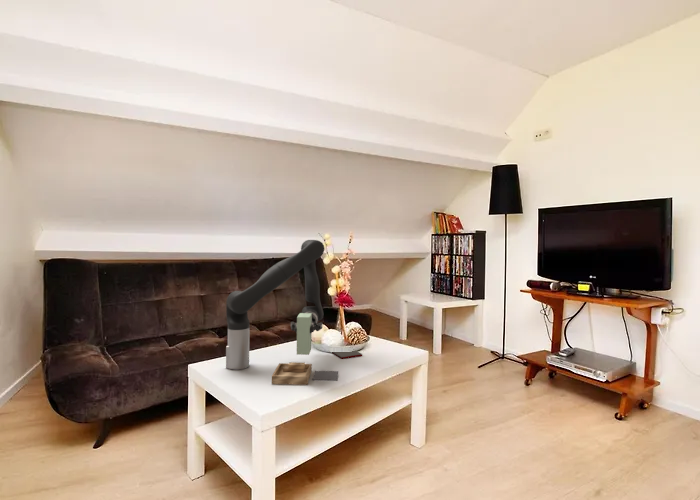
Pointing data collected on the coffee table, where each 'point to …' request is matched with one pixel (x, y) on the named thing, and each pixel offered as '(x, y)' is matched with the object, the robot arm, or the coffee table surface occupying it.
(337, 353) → the smartphone
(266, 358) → the coffee table surface
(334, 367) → the coffee table surface
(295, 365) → the offcut upper
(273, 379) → the wooden tray
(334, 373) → the mat
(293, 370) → the offcut lower
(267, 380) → the coffee table surface
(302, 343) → the green rectangular block
